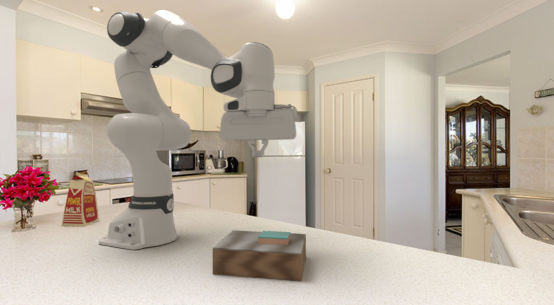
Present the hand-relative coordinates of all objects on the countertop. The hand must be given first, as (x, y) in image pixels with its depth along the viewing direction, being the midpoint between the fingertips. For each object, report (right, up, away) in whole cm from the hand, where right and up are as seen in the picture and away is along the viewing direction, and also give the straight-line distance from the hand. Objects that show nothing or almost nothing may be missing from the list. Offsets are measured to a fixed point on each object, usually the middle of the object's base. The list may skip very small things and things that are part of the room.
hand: (258, 157), depth 75 cm
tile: (+4, -20, -7) cm, 22 cm away
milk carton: (-71, -26, +34) cm, 83 cm away
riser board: (+1, -26, -6) cm, 27 cm away
